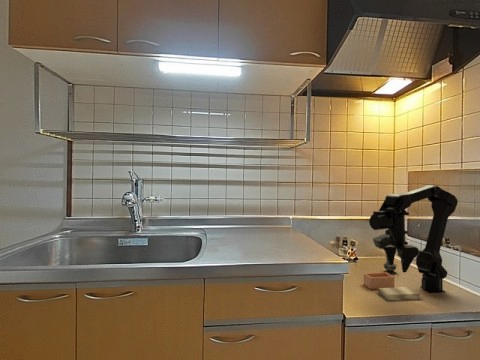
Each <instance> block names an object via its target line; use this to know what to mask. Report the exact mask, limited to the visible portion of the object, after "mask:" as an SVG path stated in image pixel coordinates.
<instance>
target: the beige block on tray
mask: <svg viewBox="0 0 480 360" xmlns="http://www.w3.org/2000/svg"><path fill="white" fill-rule="evenodd" d="M378 292H379V294H380V295H381V296H383V297H384V298H386V299H387V300H409V299H420V298H421V297H420V292H418V291H416V290H414V289H412V288H411V287H409V286H401V287H399V286H398V287H394V288H379V289H378Z"/></svg>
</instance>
